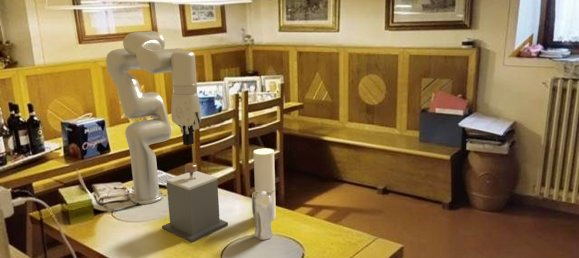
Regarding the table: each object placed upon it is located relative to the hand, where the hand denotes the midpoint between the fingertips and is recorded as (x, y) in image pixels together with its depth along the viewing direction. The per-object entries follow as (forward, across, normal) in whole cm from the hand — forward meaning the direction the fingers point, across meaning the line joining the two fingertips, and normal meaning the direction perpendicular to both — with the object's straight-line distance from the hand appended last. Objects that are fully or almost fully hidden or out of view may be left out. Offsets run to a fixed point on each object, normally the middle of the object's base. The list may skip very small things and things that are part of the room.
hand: (188, 144), depth 158 cm
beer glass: (+30, +24, +10) cm, 40 cm away
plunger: (+24, +1, 0) cm, 24 cm away
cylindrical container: (+30, +15, +21) cm, 40 cm away
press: (+30, +1, 0) cm, 30 cm away
